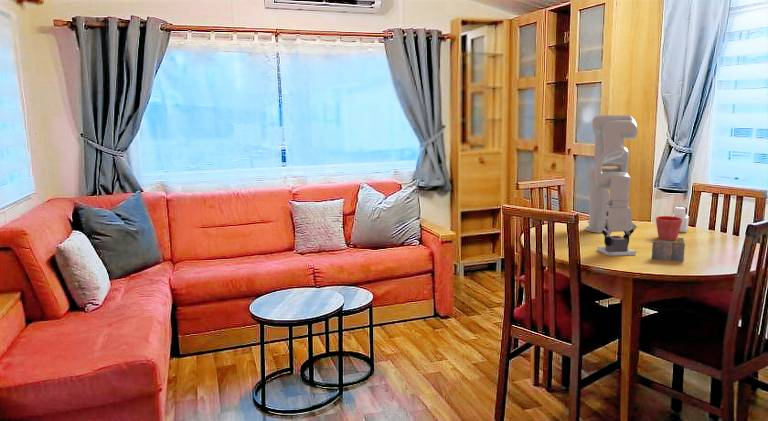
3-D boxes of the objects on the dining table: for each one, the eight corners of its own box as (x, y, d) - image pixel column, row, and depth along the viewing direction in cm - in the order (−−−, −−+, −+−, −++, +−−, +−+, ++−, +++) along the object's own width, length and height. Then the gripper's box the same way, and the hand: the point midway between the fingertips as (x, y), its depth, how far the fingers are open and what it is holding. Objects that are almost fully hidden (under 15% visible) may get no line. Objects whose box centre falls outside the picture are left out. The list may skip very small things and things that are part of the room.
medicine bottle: (672, 228, 290) (673, 205, 288) (687, 229, 286) (689, 206, 284) (669, 230, 284) (671, 207, 282) (685, 232, 280) (687, 208, 278)
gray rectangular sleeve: (605, 247, 246) (606, 235, 245) (618, 246, 246) (619, 234, 245) (613, 251, 238) (614, 239, 238) (627, 250, 239) (628, 238, 238)
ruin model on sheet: (682, 260, 230) (683, 236, 229) (683, 262, 228) (685, 238, 226) (651, 258, 234) (652, 235, 232) (652, 260, 231) (653, 236, 229)
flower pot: (675, 242, 260) (676, 221, 259) (650, 238, 268) (652, 218, 267) (684, 238, 267) (686, 218, 266) (660, 235, 275) (661, 215, 274)
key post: (597, 250, 247) (597, 236, 246) (623, 249, 248) (624, 235, 247) (608, 256, 237) (609, 241, 236) (635, 254, 238) (636, 240, 237)
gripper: (603, 206, 234) (601, 248, 237) (643, 204, 236) (640, 246, 239) (594, 203, 242) (592, 244, 245) (633, 202, 244) (631, 242, 247)
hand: (616, 244), depth 242 cm, fingers open, 7 cm apart
